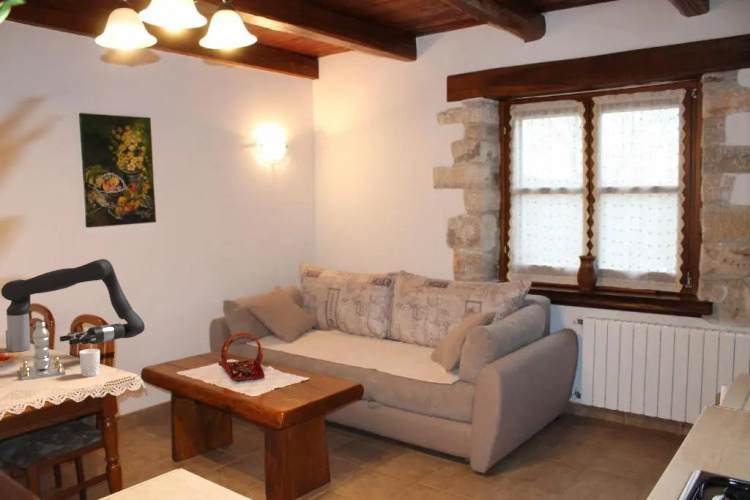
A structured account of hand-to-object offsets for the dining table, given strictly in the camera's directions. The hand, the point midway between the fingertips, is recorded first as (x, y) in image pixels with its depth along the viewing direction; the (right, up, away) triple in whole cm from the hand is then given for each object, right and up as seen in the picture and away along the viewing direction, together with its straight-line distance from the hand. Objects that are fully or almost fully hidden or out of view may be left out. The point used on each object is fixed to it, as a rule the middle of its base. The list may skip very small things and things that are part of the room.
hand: (64, 340), depth 281 cm
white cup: (+15, -13, -9) cm, 21 cm away
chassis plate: (-6, -12, -6) cm, 15 cm away
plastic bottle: (-7, -11, -5) cm, 14 cm away
